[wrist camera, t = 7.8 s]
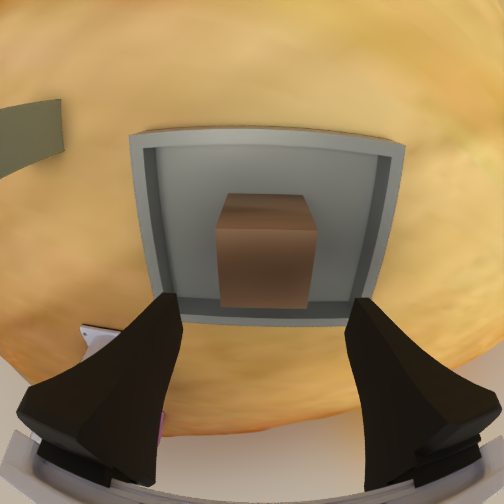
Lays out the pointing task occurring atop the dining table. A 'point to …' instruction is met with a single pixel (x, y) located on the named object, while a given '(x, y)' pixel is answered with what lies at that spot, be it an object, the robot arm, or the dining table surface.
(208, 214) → the tray
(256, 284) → the short block
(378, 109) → the dining table surface
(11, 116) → the tall block
